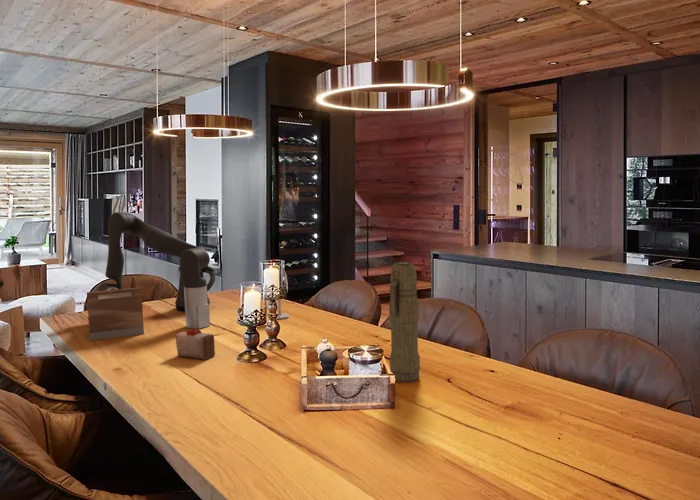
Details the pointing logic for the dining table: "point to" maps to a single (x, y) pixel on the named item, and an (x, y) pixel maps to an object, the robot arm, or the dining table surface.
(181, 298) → the beer stein
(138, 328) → the tray
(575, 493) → the dining table surface
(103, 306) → the panel
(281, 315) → the wineglass
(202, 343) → the food item
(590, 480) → the dining table surface
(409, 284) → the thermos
